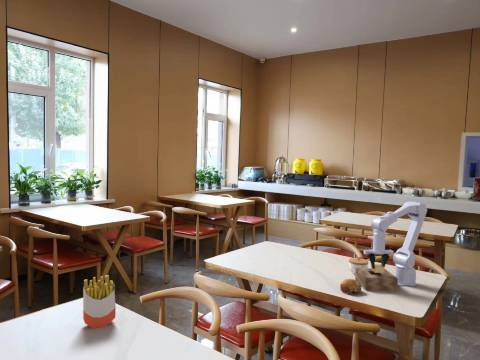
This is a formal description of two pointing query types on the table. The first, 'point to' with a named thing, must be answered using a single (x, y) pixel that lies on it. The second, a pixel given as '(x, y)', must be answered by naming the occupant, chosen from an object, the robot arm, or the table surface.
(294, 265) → the table surface
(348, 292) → the bread roll
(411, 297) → the table surface
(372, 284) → the coin box
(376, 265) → the brass cube
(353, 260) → the lidded jar
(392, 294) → the table surface
